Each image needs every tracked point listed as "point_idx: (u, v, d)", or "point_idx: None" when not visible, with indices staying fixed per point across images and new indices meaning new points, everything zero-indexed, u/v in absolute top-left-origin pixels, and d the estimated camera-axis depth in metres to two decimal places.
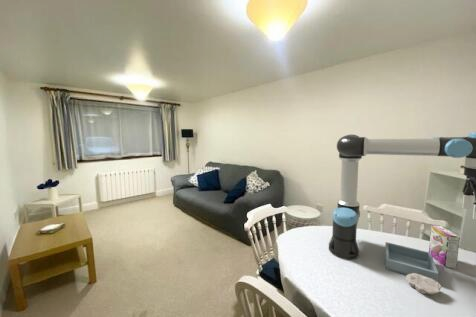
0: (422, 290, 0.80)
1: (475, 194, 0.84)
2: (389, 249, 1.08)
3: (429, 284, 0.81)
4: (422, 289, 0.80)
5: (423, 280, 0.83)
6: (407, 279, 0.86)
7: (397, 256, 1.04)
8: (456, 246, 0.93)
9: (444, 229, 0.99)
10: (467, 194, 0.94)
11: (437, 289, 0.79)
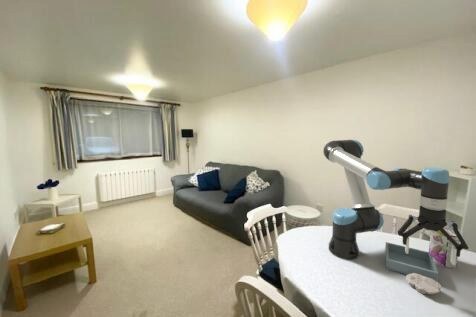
0: (422, 290, 0.80)
1: (411, 228, 0.84)
2: (389, 249, 1.08)
3: (429, 284, 0.81)
4: (422, 289, 0.80)
5: (423, 280, 0.83)
6: (407, 279, 0.86)
7: (397, 256, 1.04)
8: None
9: None
10: None
11: (437, 289, 0.79)
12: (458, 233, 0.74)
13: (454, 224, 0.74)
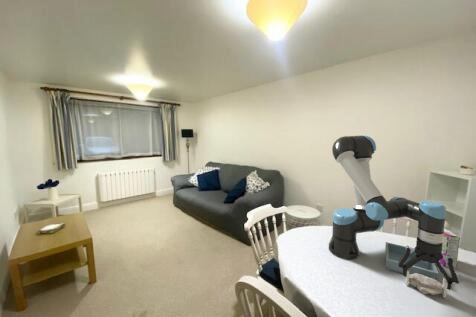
0: (424, 290, 0.80)
1: (410, 259, 0.85)
2: (389, 249, 1.08)
3: (432, 284, 0.81)
4: (424, 289, 0.80)
5: (425, 280, 0.83)
6: (409, 279, 0.86)
7: (397, 256, 1.04)
8: (456, 246, 0.93)
9: (444, 229, 0.99)
10: None
11: (439, 289, 0.78)
12: (452, 268, 0.76)
13: (450, 259, 0.76)
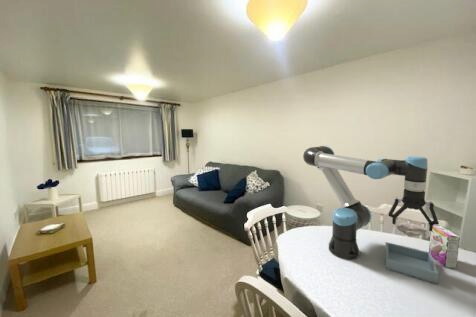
0: (410, 233, 0.93)
1: None
2: (389, 249, 1.08)
3: (416, 228, 0.94)
4: (410, 232, 0.93)
5: (411, 226, 0.96)
6: (398, 227, 0.99)
7: (397, 256, 1.04)
8: (456, 246, 0.93)
9: (444, 229, 0.99)
10: None
11: (423, 231, 0.91)
12: (433, 211, 0.89)
13: (431, 204, 0.89)
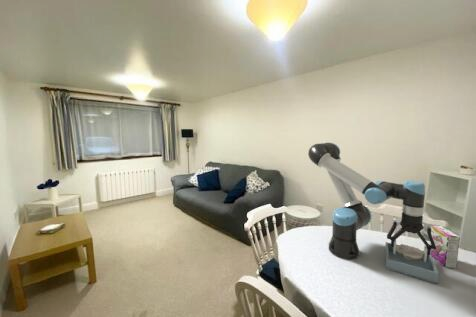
0: (408, 257, 0.94)
1: None
2: (389, 249, 1.08)
3: (414, 252, 0.95)
4: (408, 256, 0.94)
5: (409, 249, 0.98)
6: (396, 249, 1.00)
7: (397, 256, 1.04)
8: (456, 246, 0.93)
9: (444, 229, 0.99)
10: None
11: (421, 255, 0.93)
12: (430, 236, 0.91)
13: (429, 229, 0.91)
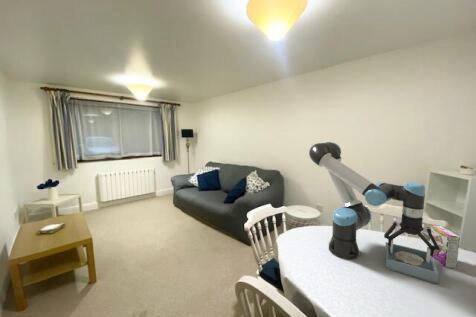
0: None
1: (395, 232, 1.00)
2: (389, 249, 1.08)
3: (414, 259, 0.96)
4: (408, 263, 0.95)
5: (409, 256, 0.98)
6: (396, 256, 1.01)
7: None
8: (456, 246, 0.93)
9: (444, 229, 0.99)
10: None
11: (420, 262, 0.93)
12: (432, 237, 0.90)
13: (428, 229, 0.91)
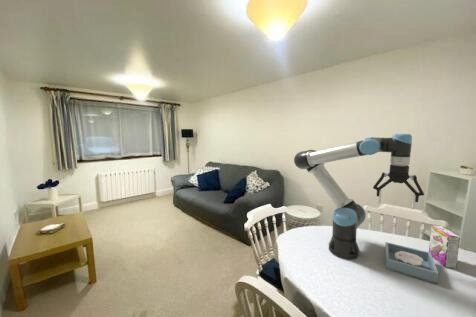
0: None
1: (383, 183, 1.05)
2: (389, 249, 1.08)
3: (414, 259, 0.96)
4: (408, 263, 0.95)
5: (409, 256, 0.98)
6: (396, 256, 1.01)
7: None
8: (456, 246, 0.93)
9: (444, 229, 0.99)
10: (415, 194, 0.97)
11: (420, 262, 0.93)
12: (417, 183, 0.95)
13: (414, 176, 0.95)
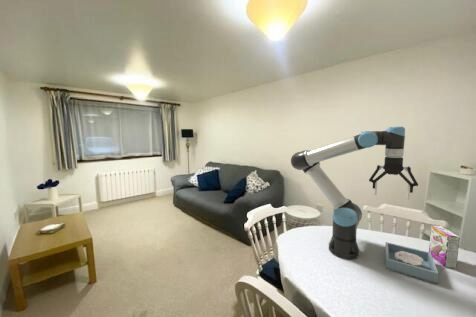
0: None
1: None
2: (389, 249, 1.08)
3: (414, 259, 0.96)
4: (408, 263, 0.95)
5: (409, 256, 0.98)
6: (396, 256, 1.01)
7: None
8: (456, 246, 0.93)
9: (444, 229, 0.99)
10: None
11: (420, 262, 0.93)
12: (411, 174, 0.98)
13: (408, 167, 0.98)
